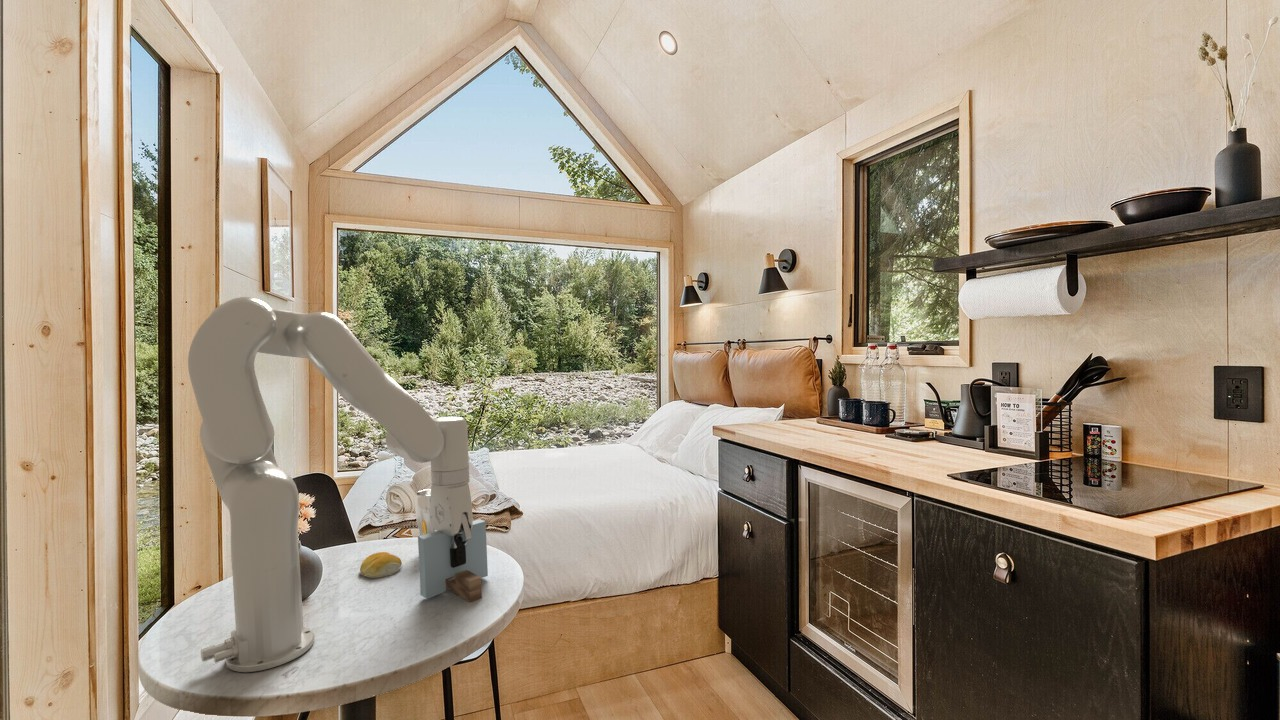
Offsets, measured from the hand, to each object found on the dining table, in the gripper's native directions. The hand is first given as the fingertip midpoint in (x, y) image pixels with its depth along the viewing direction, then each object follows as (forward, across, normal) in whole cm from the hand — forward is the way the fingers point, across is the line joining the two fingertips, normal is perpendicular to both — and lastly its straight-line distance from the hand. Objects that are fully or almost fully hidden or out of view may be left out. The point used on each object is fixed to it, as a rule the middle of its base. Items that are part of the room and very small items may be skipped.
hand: (454, 562), depth 120 cm
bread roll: (+6, -23, -6) cm, 24 cm away
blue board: (+5, 0, 0) cm, 5 cm away
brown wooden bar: (+6, 0, 0) cm, 6 cm away
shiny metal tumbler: (+6, -24, +7) cm, 26 cm away
